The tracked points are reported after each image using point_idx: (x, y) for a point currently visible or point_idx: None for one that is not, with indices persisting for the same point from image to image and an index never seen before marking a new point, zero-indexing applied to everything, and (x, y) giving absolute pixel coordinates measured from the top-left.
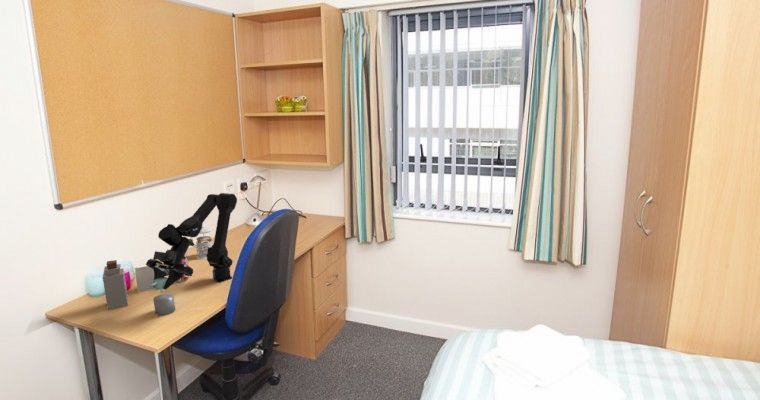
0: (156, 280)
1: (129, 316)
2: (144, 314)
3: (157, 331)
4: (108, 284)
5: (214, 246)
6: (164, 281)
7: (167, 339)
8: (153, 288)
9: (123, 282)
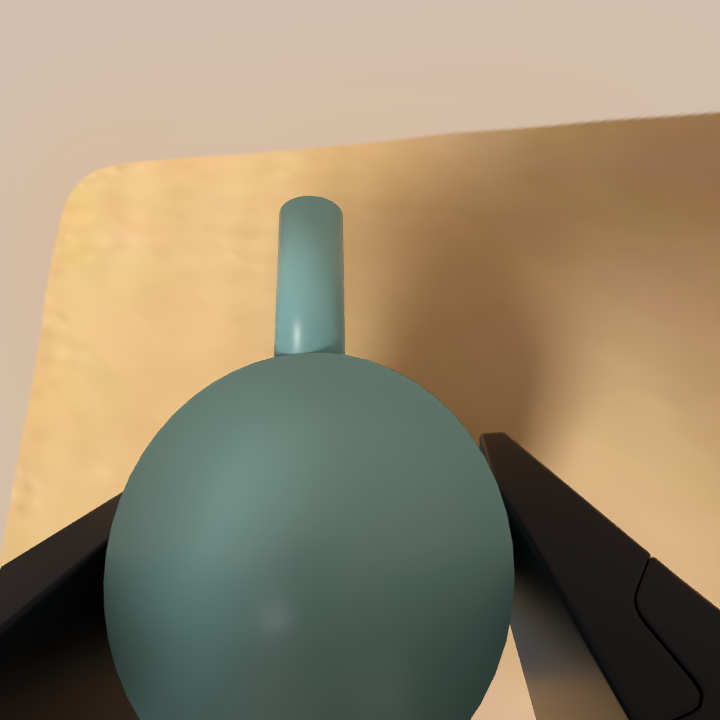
0: (383, 439)
1: (635, 320)
2: (539, 404)
3: (195, 266)
4: None
5: None
6: (130, 498)
7: (67, 234)
8: None
9: None
